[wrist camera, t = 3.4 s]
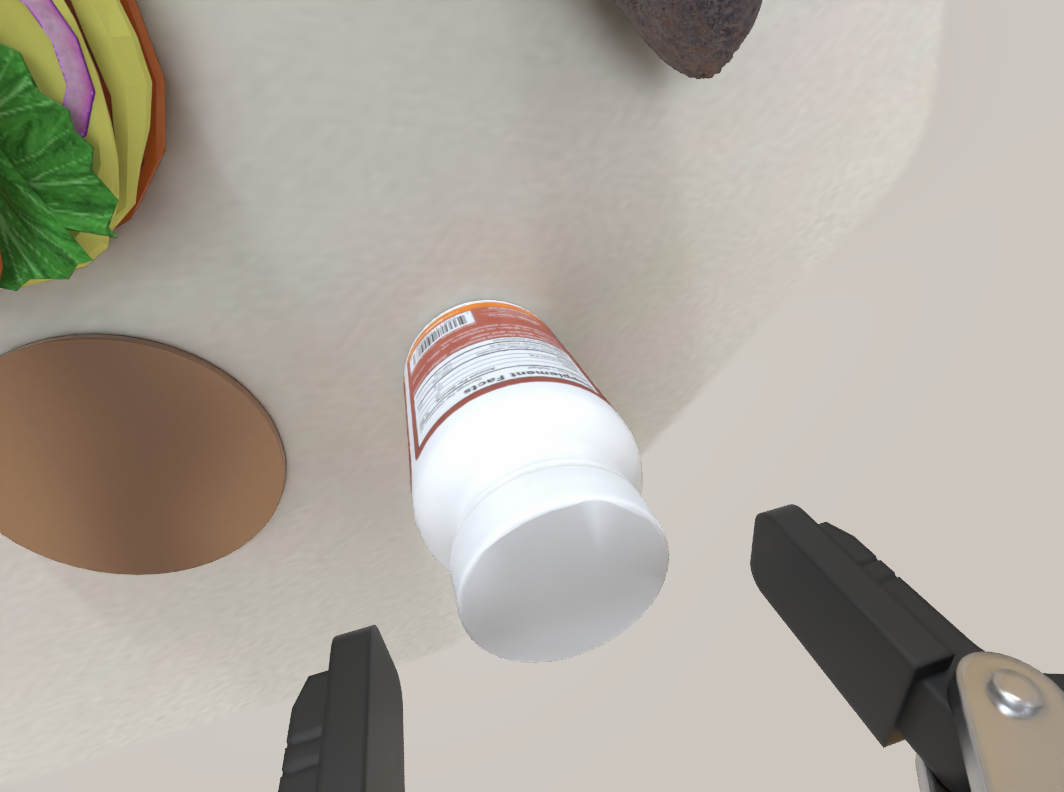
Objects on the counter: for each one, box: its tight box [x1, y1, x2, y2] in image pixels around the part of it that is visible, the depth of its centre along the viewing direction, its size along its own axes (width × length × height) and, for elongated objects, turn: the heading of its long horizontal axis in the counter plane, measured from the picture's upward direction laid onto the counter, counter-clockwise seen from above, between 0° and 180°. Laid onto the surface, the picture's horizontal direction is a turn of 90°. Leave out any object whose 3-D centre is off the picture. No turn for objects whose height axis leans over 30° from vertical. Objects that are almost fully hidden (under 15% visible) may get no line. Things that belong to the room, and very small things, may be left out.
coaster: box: [0, 334, 286, 575], centre depth 18 cm, size 10×10×1 cm
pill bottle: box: [404, 300, 669, 663], centre depth 15 cm, size 6×6×11 cm
